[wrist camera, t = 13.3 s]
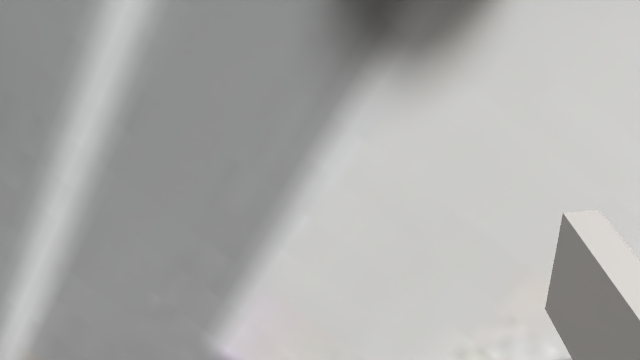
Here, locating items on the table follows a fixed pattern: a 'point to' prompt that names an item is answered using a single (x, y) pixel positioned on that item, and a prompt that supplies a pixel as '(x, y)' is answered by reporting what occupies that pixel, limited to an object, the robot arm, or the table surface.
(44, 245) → the table surface
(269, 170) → the table surface
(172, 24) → the table surface
